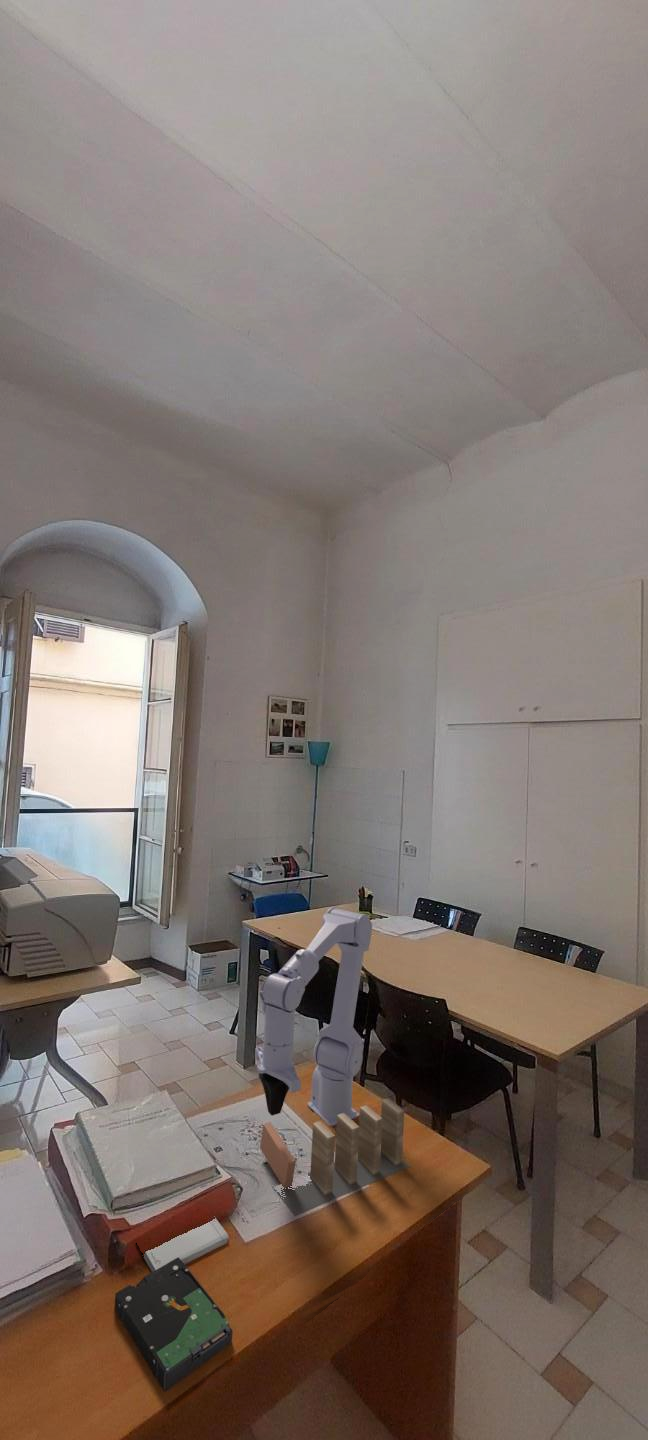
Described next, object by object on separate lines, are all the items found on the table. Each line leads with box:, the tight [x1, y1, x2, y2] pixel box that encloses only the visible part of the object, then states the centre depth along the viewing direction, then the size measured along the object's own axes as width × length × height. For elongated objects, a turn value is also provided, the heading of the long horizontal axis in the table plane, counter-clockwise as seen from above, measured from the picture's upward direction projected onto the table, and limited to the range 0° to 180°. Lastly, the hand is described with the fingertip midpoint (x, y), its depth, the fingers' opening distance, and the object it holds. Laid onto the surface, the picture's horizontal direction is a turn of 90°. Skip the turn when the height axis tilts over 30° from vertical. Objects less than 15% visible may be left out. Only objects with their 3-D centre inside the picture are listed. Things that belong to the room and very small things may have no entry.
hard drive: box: [143, 1217, 230, 1272], centre depth 99 cm, size 2×8×12 cm
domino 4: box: [358, 1104, 382, 1175], centre depth 120 cm, size 2×5×10 cm, turn 34°
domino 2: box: [309, 1120, 336, 1195], centre depth 114 cm, size 2×5×10 cm, turn 33°
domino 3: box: [334, 1113, 359, 1185], centre depth 117 cm, size 2×5×10 cm, turn 34°
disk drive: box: [114, 1257, 233, 1392], centre depth 85 cm, size 10×3×15 cm
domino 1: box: [259, 1121, 297, 1189], centre depth 116 cm, size 2×5×10 cm
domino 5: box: [380, 1097, 405, 1166], centre depth 123 cm, size 2×5×10 cm, turn 34°
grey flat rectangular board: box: [273, 1153, 411, 1217], centre depth 116 cm, size 8×26×1 cm, turn 124°
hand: (274, 1112), depth 118 cm, fingers closed
